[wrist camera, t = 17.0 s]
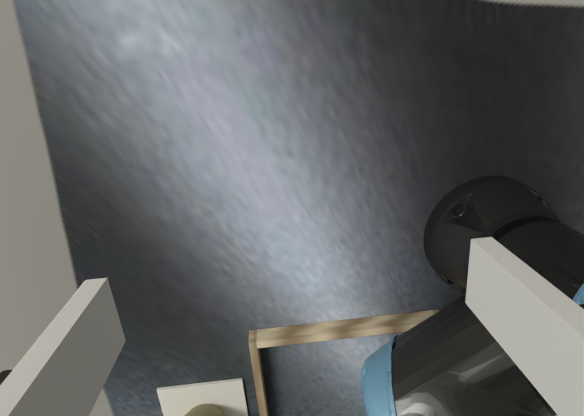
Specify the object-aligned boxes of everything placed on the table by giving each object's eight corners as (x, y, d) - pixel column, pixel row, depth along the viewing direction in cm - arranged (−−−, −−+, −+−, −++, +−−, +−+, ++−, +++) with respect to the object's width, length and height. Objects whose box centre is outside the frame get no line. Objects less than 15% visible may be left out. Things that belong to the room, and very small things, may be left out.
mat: (242, 378, 56) (242, 380, 56) (252, 438, 60) (252, 441, 60) (157, 388, 56) (156, 390, 55) (173, 448, 60) (173, 450, 59)
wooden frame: (438, 309, 54) (446, 320, 52) (431, 426, 62) (438, 440, 59) (249, 330, 53) (248, 343, 51) (266, 446, 61) (266, 461, 59)
